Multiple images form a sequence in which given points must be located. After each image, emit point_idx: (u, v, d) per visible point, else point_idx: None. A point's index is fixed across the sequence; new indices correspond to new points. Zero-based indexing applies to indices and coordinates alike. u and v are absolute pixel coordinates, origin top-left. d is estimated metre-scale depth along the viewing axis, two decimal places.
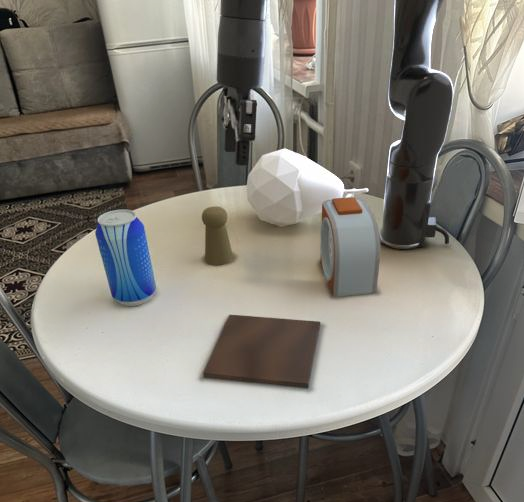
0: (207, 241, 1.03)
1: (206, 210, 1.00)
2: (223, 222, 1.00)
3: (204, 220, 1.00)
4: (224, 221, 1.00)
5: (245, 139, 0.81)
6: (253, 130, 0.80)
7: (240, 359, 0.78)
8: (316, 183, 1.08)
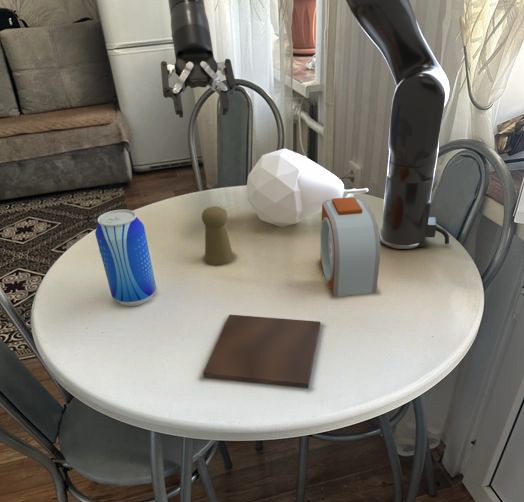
0: (207, 241, 1.03)
1: (206, 210, 1.00)
2: (223, 222, 1.00)
3: (204, 220, 1.00)
4: (224, 221, 1.00)
5: (164, 94, 0.98)
6: None
7: (240, 359, 0.78)
8: (316, 183, 1.08)
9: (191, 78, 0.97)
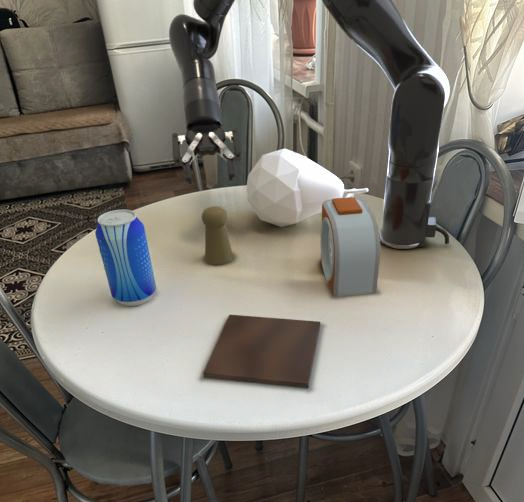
0: (207, 241, 1.03)
1: (206, 210, 1.00)
2: (223, 222, 1.00)
3: (204, 220, 1.00)
4: (224, 221, 1.00)
5: (174, 162, 1.04)
6: (173, 153, 1.03)
7: (240, 359, 0.78)
8: (316, 183, 1.08)
9: (200, 148, 1.04)
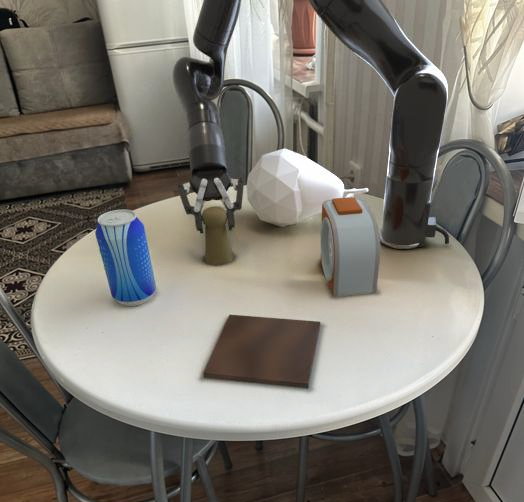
0: (207, 241, 1.03)
1: (206, 210, 1.00)
2: (223, 222, 1.00)
3: (204, 220, 1.00)
4: (224, 221, 1.00)
5: (186, 211, 1.02)
6: (183, 203, 1.00)
7: (240, 359, 0.78)
8: (316, 183, 1.08)
9: (205, 194, 1.01)
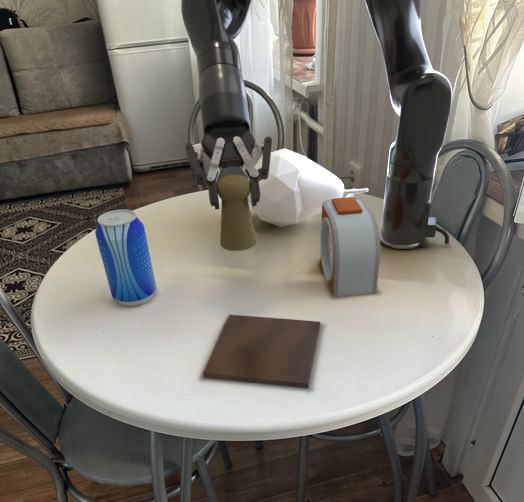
0: (224, 220, 0.80)
1: (223, 179, 0.77)
2: (245, 194, 0.77)
3: (220, 192, 0.77)
4: (246, 193, 0.77)
5: (197, 181, 0.78)
6: (193, 170, 0.77)
7: (240, 359, 0.78)
8: (316, 183, 1.08)
9: (221, 157, 0.78)
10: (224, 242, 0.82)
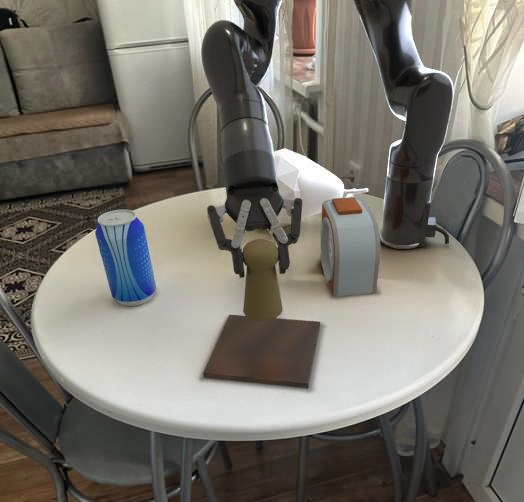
0: (249, 288, 0.72)
1: (249, 245, 0.69)
2: (273, 263, 0.69)
3: (246, 260, 0.69)
4: (275, 261, 0.70)
5: (219, 247, 0.71)
6: (216, 235, 0.70)
7: (240, 359, 0.78)
8: (316, 183, 1.08)
9: (247, 221, 0.70)
10: (248, 311, 0.74)
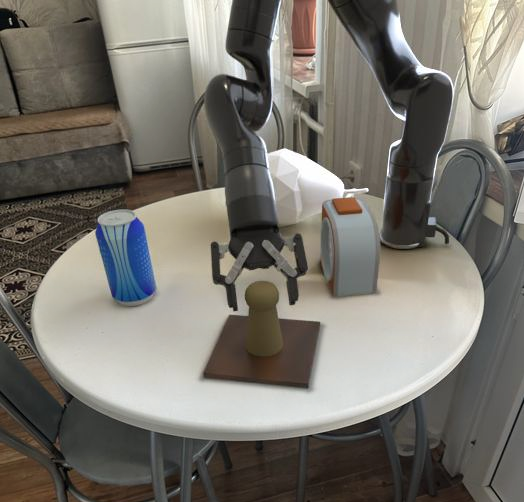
0: (251, 326, 0.76)
1: (251, 287, 0.74)
2: (274, 304, 0.74)
3: (248, 301, 0.73)
4: (275, 302, 0.74)
5: (214, 282, 0.75)
6: (212, 270, 0.74)
7: (240, 359, 0.78)
8: (316, 183, 1.08)
9: (250, 262, 0.74)
10: (250, 347, 0.78)
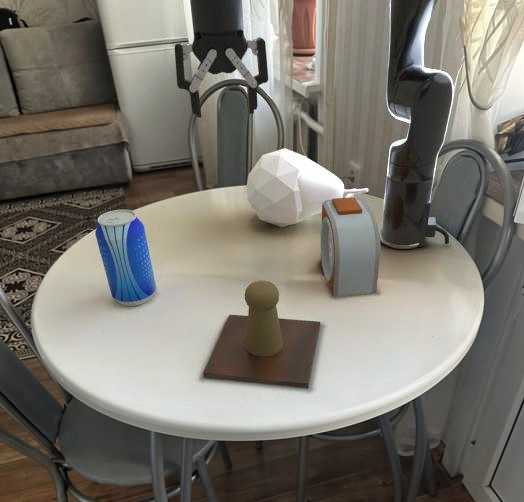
0: (251, 326, 0.76)
1: (251, 287, 0.74)
2: (274, 304, 0.74)
3: (248, 301, 0.73)
4: (275, 302, 0.74)
5: None
6: (177, 76, 0.77)
7: (240, 359, 0.78)
8: (316, 183, 1.08)
9: (213, 69, 0.77)
10: (250, 347, 0.78)
